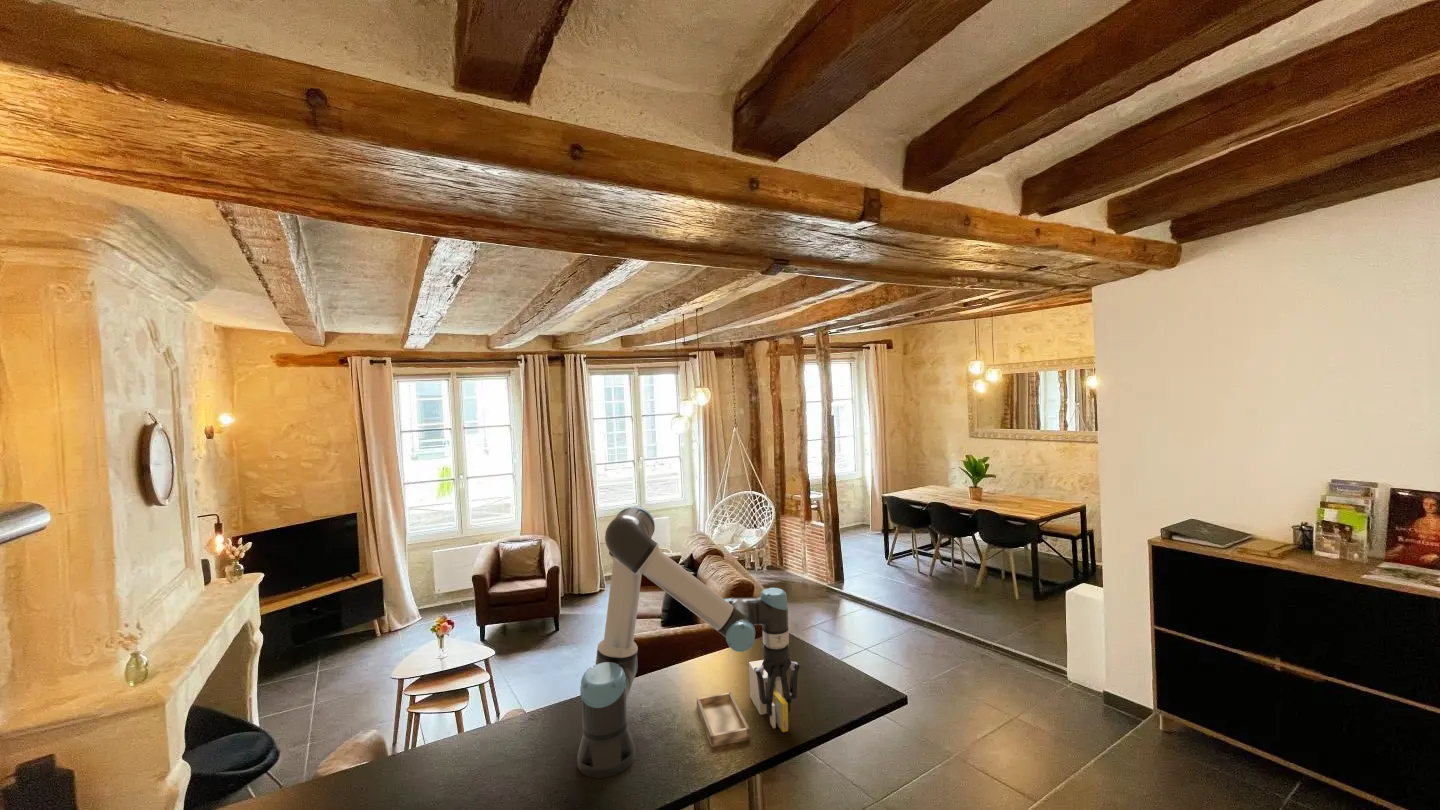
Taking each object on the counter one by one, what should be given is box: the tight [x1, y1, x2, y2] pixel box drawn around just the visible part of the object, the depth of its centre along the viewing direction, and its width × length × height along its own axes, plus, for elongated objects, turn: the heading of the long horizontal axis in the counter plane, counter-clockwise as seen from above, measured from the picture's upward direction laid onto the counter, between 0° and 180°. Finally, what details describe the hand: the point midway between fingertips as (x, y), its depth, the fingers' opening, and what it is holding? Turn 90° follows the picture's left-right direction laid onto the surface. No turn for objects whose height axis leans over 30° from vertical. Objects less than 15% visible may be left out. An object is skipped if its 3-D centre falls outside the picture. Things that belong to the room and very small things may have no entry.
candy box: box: [765, 683, 789, 733], centre depth 166 cm, size 16×2×8 cm, turn 18°
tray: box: [696, 691, 751, 748], centre depth 164 cm, size 11×20×3 cm, turn 14°
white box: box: [748, 659, 783, 716], centre depth 172 cm, size 7×11×11 cm, turn 14°
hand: (779, 723), depth 161 cm, fingers open, 3 cm apart
